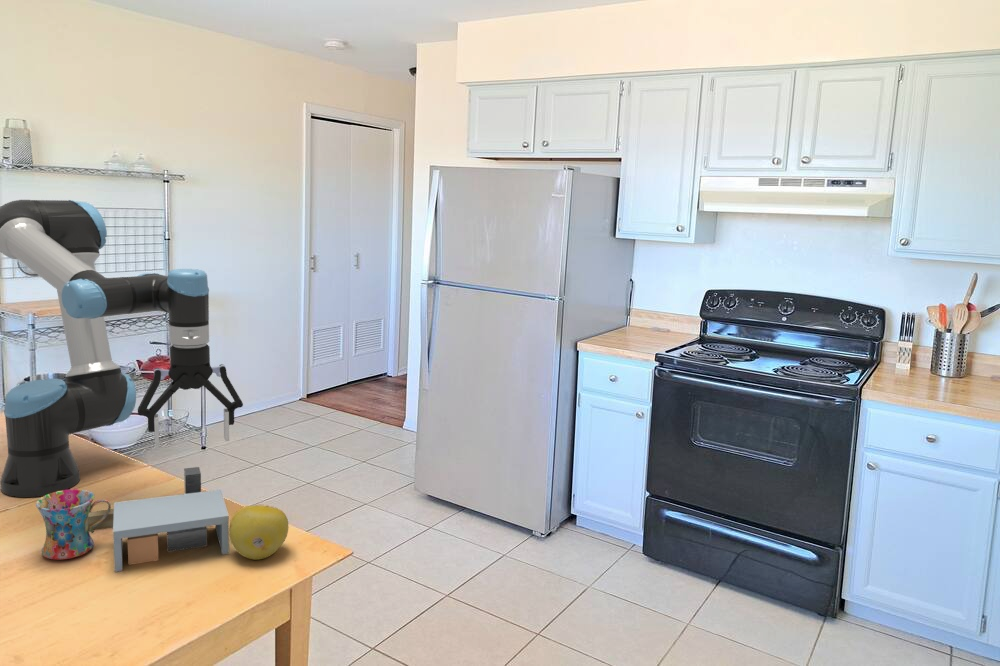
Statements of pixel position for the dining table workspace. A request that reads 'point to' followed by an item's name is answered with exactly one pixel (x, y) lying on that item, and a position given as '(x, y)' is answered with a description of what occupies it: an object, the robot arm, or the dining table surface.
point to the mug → (68, 522)
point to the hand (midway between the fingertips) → (192, 442)
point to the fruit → (258, 530)
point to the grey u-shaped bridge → (169, 518)
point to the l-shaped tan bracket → (97, 515)
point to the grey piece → (194, 535)
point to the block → (142, 548)
